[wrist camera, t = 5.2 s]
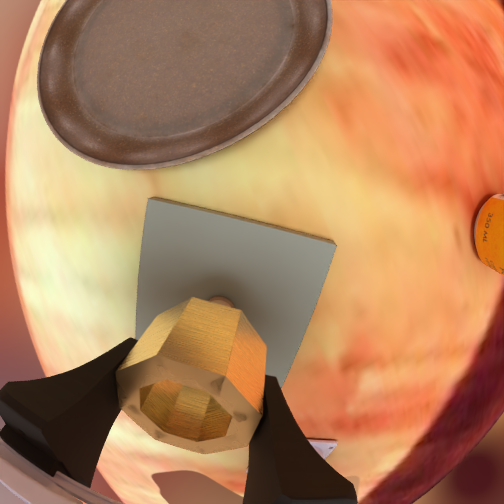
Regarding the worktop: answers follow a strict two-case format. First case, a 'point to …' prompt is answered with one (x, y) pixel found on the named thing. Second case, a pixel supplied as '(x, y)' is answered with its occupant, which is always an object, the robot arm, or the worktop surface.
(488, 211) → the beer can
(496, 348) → the worktop surface
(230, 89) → the plant saucer
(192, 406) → the collar
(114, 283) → the worktop surface
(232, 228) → the post plate
